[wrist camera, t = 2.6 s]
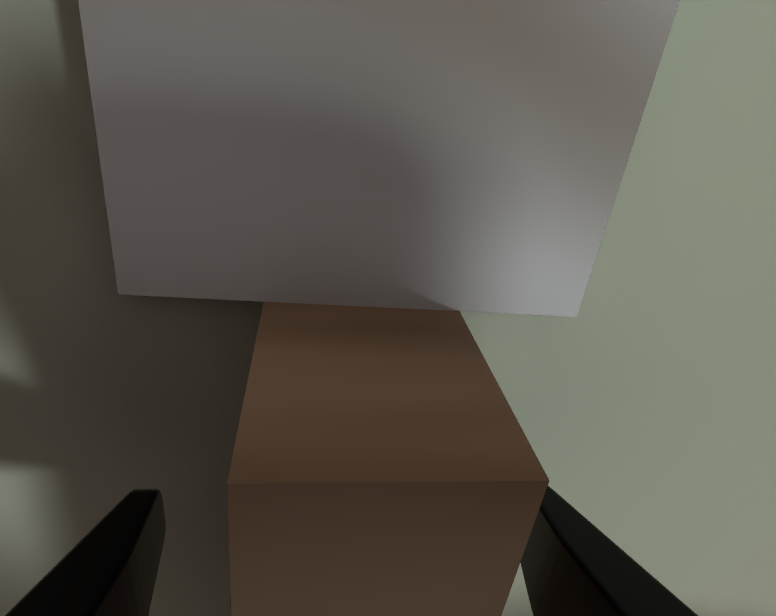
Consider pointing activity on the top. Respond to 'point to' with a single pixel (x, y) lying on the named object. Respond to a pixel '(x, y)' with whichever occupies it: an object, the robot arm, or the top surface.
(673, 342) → the top surface
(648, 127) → the top surface
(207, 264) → the turner
